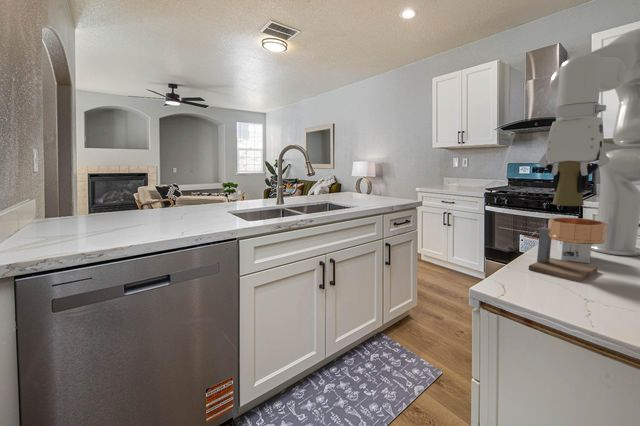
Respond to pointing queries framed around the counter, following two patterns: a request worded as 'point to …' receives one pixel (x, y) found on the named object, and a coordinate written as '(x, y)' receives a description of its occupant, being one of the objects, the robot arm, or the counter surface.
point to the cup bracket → (572, 233)
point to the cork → (568, 185)
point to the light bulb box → (574, 252)
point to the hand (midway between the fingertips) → (569, 190)
